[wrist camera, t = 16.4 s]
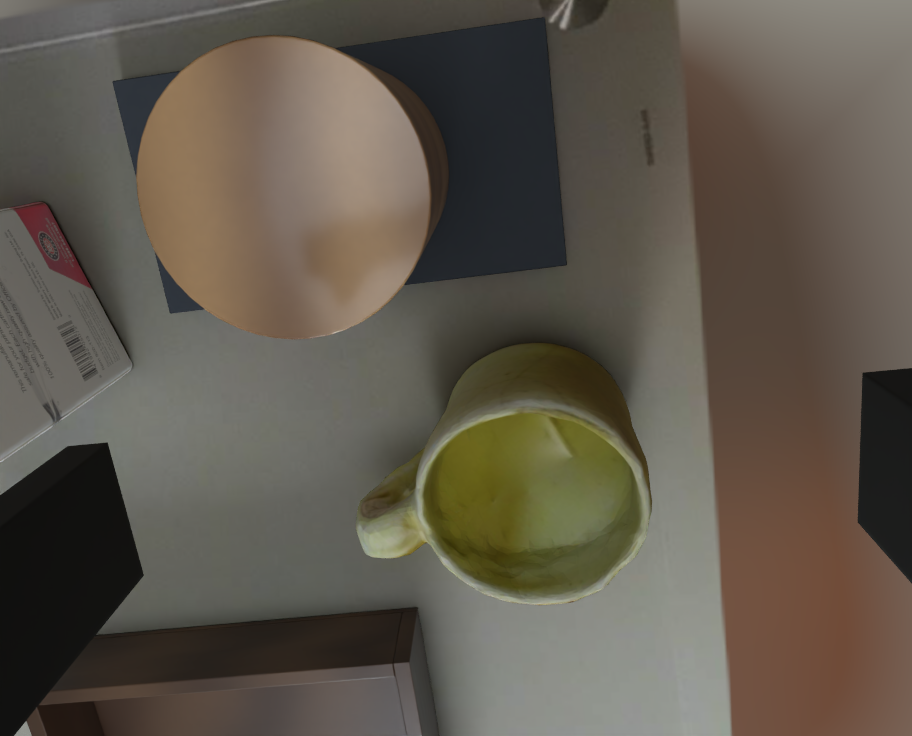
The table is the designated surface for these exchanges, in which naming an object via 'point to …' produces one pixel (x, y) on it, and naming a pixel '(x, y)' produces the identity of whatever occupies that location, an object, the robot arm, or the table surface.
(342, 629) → the dark wooden tray
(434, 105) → the mat
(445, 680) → the table surface
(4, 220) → the ink box
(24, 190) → the table surface
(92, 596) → the robot arm
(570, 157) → the table surface
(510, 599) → the mug
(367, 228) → the tan round tin
